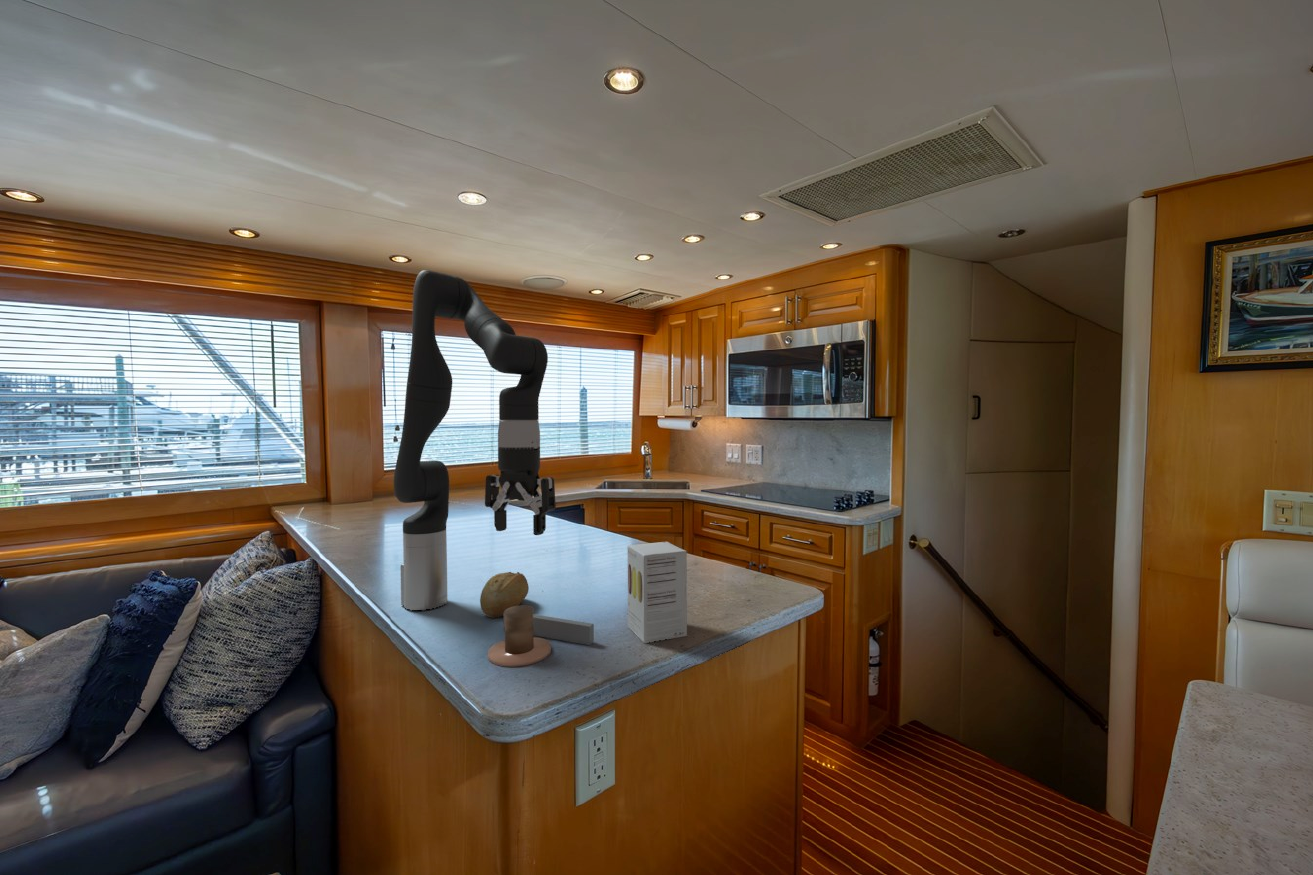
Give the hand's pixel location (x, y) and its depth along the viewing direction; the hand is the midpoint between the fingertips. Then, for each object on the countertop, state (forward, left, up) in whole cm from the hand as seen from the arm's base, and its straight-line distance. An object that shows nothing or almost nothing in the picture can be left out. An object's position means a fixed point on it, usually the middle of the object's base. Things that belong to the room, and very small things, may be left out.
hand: (519, 532), depth 98 cm
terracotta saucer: (+1, -2, -21) cm, 21 cm away
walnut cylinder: (+1, -2, -21) cm, 21 cm away
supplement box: (+20, +16, -22) cm, 34 cm away
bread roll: (-17, +16, -22) cm, 32 cm away
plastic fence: (+1, +6, -21) cm, 22 cm away
